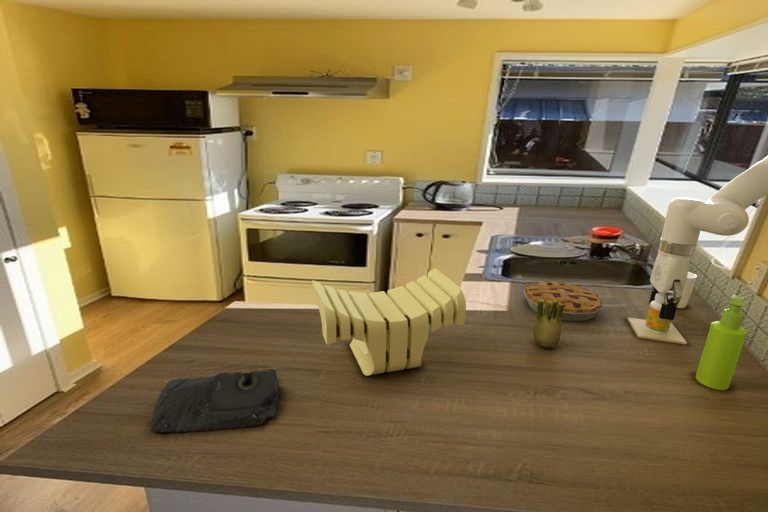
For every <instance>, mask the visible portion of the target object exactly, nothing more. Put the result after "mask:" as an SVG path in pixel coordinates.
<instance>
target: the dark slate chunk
mask: <svg viewBox="0 0 768 512" xmlns="http://www.w3.org/2000/svg"><path fill="white" fill-rule="evenodd" d="M277 377H278V376H277V371H276V370H275V369H273V368H272V369H266V370H254V371H251V372H242V371H238V372H237V371H235V372H219V373H217V375H211V376H199V377H196V378H195V377H194V378H188V377H187V378H176V379H172V380H169V381H168V382H166V384H165V385H164V387H163V388H162V390H161V392H160V394H159V396H158V397H157V399H156V402H155V405H154V406H153V412H152V417H151V418H150V420H149V422H150V423H149V425H150V431H151V432H154V433H155V432H159V433H170V434H171V433H177V434H178V433H181V432H182V433H187V432H190V433H194V432H208V431H218V430H225V429H227V430H230V429H236V428H238V429H239V428H241V429H243V428H249V427H255V426H260V425H263V424H264V423H265V422H266V420H267V419H273V418H275V416H276V413H277V409H278V408H277V406H276V403H277V401H278V397H279V396H278V395H279V394H278V392H279V382H278V381H279V380H278V378H277ZM248 383H250V385H247V384H248Z"/></svg>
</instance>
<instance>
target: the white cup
mask: <svg viewBox="0 0 768 512" xmlns="http://www.w3.org/2000/svg"><path fill="white" fill-rule="evenodd" d="M697 279H698V275H697V274H695V273H693V272H691V271H688V275H687V279H686V284H685V287H684V291H683V293H682V298H681V299H680V302H679V303H678V306H677V309H685V308H686V307H688V303H689V300H690V298H691V295H692V293H693V290H694V287H695V284H696V281H697ZM668 292H669V293H674V291H668Z"/></svg>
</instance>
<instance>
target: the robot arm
mask: <svg viewBox="0 0 768 512" xmlns="http://www.w3.org/2000/svg"><path fill="white" fill-rule="evenodd" d="M766 196H768V155H767V156H765V157H764V158H762V159H761V160H759V161H758V162H756V163H754V164H753V165H752V166H750V167H749V168H748V169H746V170H744V171H743V172H741V173H740V174H738V175H737V176H735V177H734V178H732V179H731V180H730V181H729V182H727V183H726V184H725V185H723V186H722V187H720V189H718V190H717V191H716V192H715V193H714V194H713V195H712V196H710V197H709V198H708V199H707V200H706V201H703V200H701V199H698V198H693V197H675V198H672V199H671V200H670V202H669V203H668V206H667V211H666V215H665V218H664V219H665V220H664V223H663V227H662V232H661V235H660V240H659V244H658V248H657V254H656V258H655V261H654V263H653V266H652V270H651V274H650V278H649V282H650V284H651V285H652V286H651V293H650V296H649V301H648V304H649V305H650V303H651V302H652V301H654V300H655V296H656V294H657V293H661V294H663V293H664V304H663V303H662V306H661V310H660V314H659V318H660V319H667V320H671V321H673V320H674V319H675V316H676V312H677V309H678V308H677V306H678V303H679V302H680V299H681V298H682V293H683V291H684V287H685V284H686V279H687V275H688V272H689V269H690V262H691V259H692V258H694V256H695V253H696V249H697V245H698V241H699V238H700V234H701V232H705V233H709V234H713V235H717V236H722V237H723V236H724V237H729V236H735V235H738V234H740V233H741V232H744V230H746V228H747V227H748V225H749V221H750V217H749V214H748V212H747V211H746V210H747V209H749V208H750V207H751V206H752V205H753V204H755V203H756V202H758V201H759V200H762V198H764V197H766ZM668 291H674V293H669V292H668ZM668 296H673V298H672V297H671V298H670V299H669V300H668Z"/></svg>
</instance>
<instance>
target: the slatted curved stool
mask: <svg viewBox="0 0 768 512" xmlns="http://www.w3.org/2000/svg"><path fill="white" fill-rule="evenodd" d="M311 281H312V293H313V296H314V298H315V302H316V304H317V307H318V311H319V315H320V320H321V329H322V330H321V331H322V337H323V339H324V342H325V344H326V346H329V345H332V344H334V343H337V338H339V339H340V341H341V342H342V341H349V340H351V336H352V337H353V338H352V341H351V342H350V343H349V347H350V349H351V352H352V353H353V355H354V357H355V359H356V362H357V363H358V365H359V368H360V369H361V372H362V374H363V375H365V376H367V377H368V376H373V375H379V374H384V373H392V372H397V371H402V370H403V371H404V370H405V369H407V370H408V369H409V370H410V369H413V368H420V367H422V358H423V353H424V351H425V350H424V349H425V347H426V344H427V342H428V340H429V330H430V332H431V333H434V332H435V331H437V330H438V329H440V328H442V325H444V327H446V326H453V325H454V324H455V325H457V326H465V324H466V323H465V321H466V312H467V301H466V297H465V294H464V292H463V290H462V288H461V287H460V286H459V285H457V284H456V283H455V282H454V281H453V280H451V279H450V278H449V277H447V276H446V275H444V273H442V272H441V271H440V270H438V269H437V268H436V267H435V268H433V269H431V270H430V271H428V272H427V275H425V274H423V275H422V276H420V277H418V278H416V282H415V281H414V280H412V281H410V282H408V283H406V284H405V287H404V286H403V285H400V286H397V287H395V288H394V287H393V288H391V289H388V290H387V292H385V291H384V290H383V291H382V290H381V291H373V292H368V295H367V293H366V292H359V291H348V292H349V293H347V291H346V290H345V289H340V288H337V289H336V290H337V291H335V289H334V287H332V286H329V285H326V284H324V287H323V285H322V283H321V282H320V281H319V282H318V281H316V280H313V279H312V280H311Z"/></svg>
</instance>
